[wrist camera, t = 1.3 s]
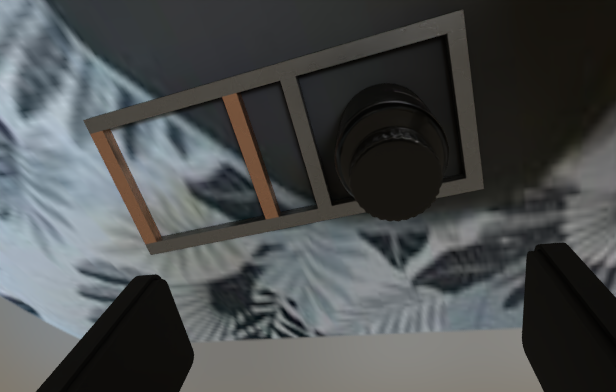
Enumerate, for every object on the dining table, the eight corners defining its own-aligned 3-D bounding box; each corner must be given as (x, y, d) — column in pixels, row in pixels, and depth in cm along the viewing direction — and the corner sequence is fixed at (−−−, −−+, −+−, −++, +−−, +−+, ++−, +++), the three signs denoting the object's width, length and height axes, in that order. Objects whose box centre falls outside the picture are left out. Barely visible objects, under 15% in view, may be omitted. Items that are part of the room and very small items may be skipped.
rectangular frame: (459, 9, 27) (463, 9, 26) (480, 184, 32) (483, 188, 31) (90, 117, 33) (83, 120, 32) (155, 249, 38) (150, 254, 37)
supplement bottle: (428, 77, 29) (472, 110, 18) (426, 163, 32) (463, 238, 21) (336, 85, 30) (325, 121, 19) (342, 168, 33) (335, 242, 22)
